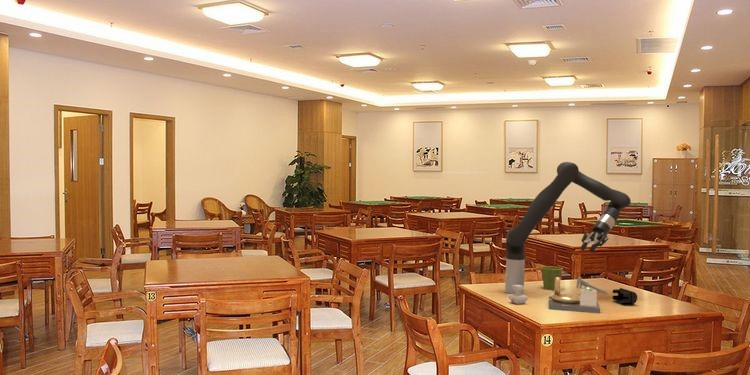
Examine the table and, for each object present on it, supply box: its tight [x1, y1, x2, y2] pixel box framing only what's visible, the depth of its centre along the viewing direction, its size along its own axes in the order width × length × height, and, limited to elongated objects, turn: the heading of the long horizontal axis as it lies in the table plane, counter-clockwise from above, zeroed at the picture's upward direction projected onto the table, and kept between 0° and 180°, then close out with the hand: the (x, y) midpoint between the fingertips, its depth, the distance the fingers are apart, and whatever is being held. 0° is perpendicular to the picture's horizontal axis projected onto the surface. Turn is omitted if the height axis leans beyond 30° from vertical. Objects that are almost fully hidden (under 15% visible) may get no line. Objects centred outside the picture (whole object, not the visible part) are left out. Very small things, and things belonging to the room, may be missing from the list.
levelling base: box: [548, 286, 601, 314], centre depth 295 cm, size 22×20×10 cm
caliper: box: [576, 276, 609, 295], centre depth 338 cm, size 20×1×6 cm, turn 30°
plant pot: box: [539, 265, 564, 291], centre depth 340 cm, size 12×12×11 cm
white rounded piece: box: [508, 285, 529, 305], centre depth 300 cm, size 9×7×8 cm
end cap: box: [612, 287, 638, 307], centre depth 305 cm, size 10×7×7 cm
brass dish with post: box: [551, 276, 580, 303], centre depth 299 cm, size 13×13×10 cm
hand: (586, 250), depth 313 cm, fingers open, 5 cm apart
